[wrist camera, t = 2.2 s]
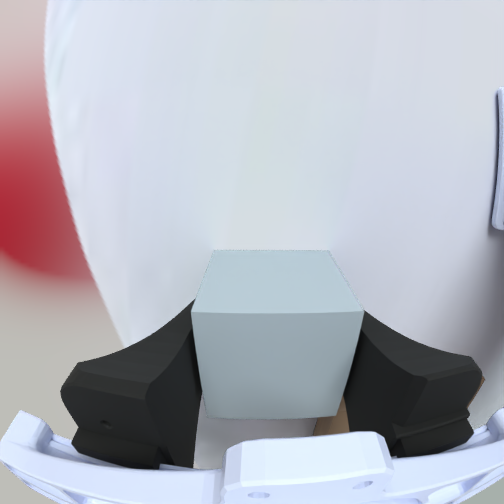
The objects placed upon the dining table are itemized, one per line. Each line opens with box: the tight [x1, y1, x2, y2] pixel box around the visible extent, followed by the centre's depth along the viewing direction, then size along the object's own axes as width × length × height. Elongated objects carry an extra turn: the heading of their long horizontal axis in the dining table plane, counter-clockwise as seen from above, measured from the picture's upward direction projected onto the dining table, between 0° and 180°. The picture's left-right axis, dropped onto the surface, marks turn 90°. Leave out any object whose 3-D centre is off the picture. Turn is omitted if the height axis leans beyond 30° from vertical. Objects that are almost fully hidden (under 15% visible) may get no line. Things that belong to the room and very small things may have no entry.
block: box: [191, 250, 364, 420], centre depth 11 cm, size 5×5×5 cm
